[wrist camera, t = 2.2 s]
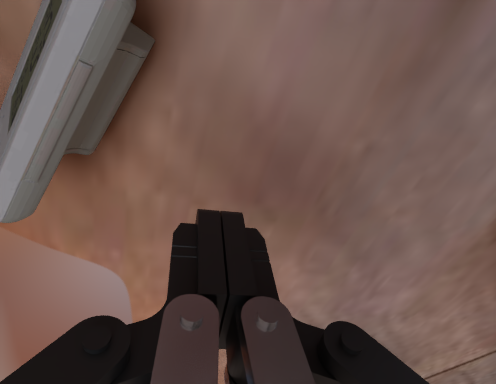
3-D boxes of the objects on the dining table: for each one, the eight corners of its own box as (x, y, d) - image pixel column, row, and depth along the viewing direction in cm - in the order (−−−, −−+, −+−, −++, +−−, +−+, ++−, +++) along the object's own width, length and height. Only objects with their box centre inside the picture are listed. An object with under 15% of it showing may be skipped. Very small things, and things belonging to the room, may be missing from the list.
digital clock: (92, -91, 21) (14, -131, 12) (201, 28, 25) (201, 62, 16) (-37, 93, 26) (-160, 161, 17) (72, 166, 30) (20, 250, 21)
